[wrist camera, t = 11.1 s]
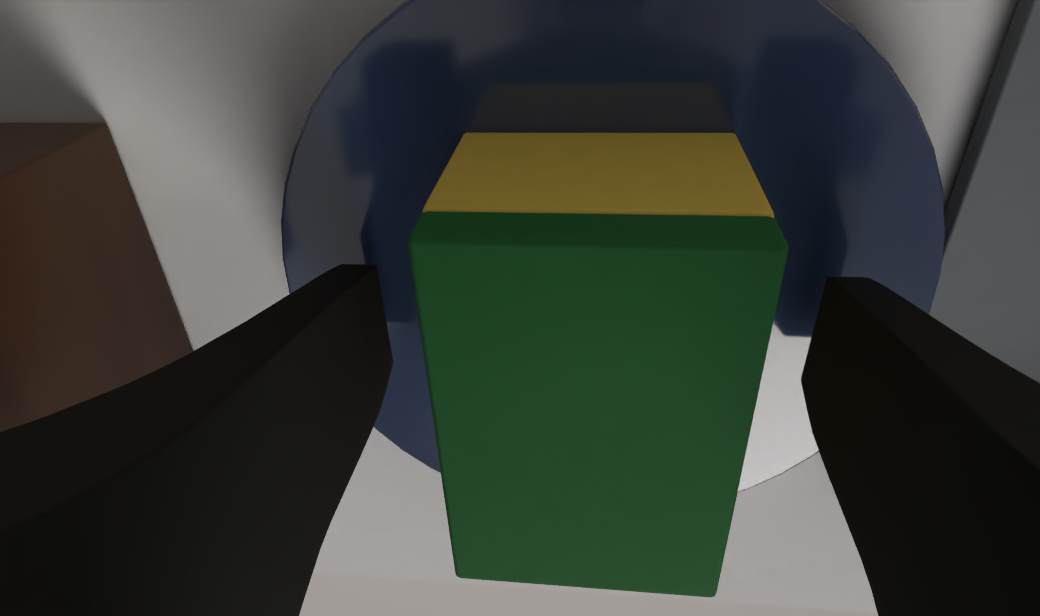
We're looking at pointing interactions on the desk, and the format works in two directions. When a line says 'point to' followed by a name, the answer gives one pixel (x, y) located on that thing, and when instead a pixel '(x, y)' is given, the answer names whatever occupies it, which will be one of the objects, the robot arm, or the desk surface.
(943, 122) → the desk surface
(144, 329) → the brown wooden block
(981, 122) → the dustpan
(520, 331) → the sponge
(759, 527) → the desk surface
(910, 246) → the plate
